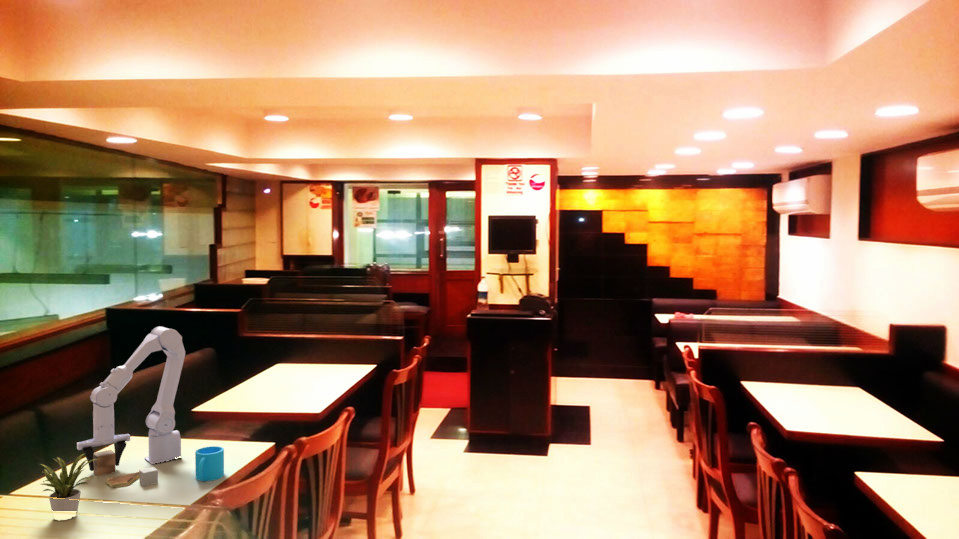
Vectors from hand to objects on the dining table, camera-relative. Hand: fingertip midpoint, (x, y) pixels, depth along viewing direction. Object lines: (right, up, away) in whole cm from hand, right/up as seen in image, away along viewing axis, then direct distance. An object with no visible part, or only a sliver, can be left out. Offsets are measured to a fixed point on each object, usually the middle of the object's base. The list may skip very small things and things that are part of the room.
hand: (104, 467), depth 206 cm
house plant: (+10, -3, -33) cm, 34 cm away
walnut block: (0, -2, 0) cm, 2 cm away
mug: (+35, -2, -5) cm, 35 cm away
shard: (+10, -3, -7) cm, 12 cm away
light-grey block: (+18, -2, -9) cm, 20 cm away
